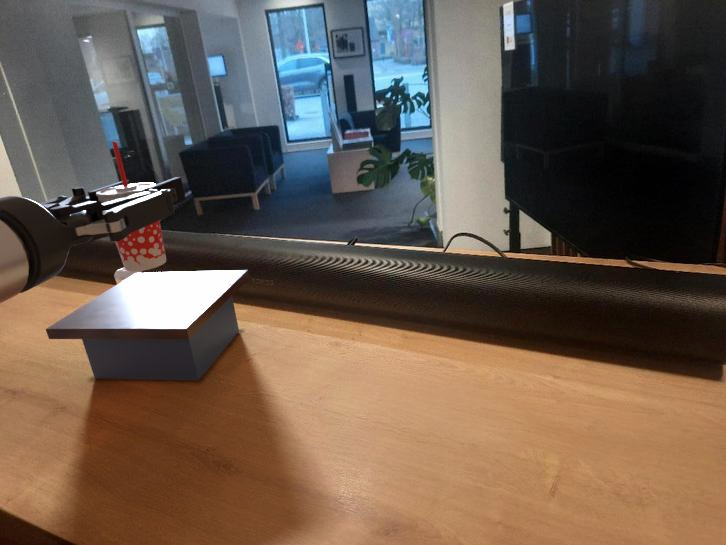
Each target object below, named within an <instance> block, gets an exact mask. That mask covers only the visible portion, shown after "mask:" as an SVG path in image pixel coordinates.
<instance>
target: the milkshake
mask: <svg viewBox="0 0 726 545" xmlns="http://www.w3.org/2000/svg"><path fill="white" fill-rule="evenodd" d="M135 273H143V271H127V270H125V268H124V266H123V267H121V268H119V269H117V270H116V271H115V272H114V274H113V278H114V281H115V283H116V285H117V284H119V283H120V282H122V281H123V280H125V279H127V278H128V277H130V276H131V275H133V274H135Z"/></svg>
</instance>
